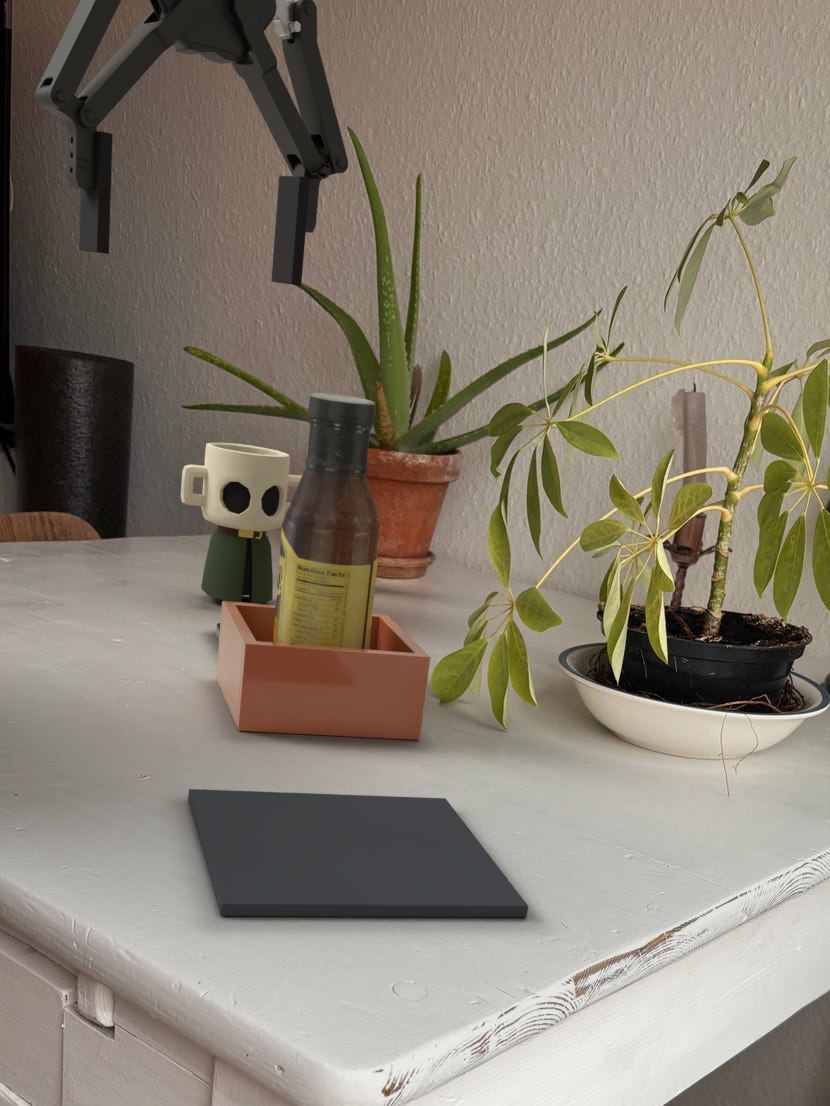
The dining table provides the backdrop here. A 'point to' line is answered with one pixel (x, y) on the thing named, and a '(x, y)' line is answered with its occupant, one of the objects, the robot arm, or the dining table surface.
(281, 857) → the mat
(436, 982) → the dining table surface
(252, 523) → the character mug
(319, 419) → the sauce bottle
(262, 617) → the holder
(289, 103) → the robot arm
